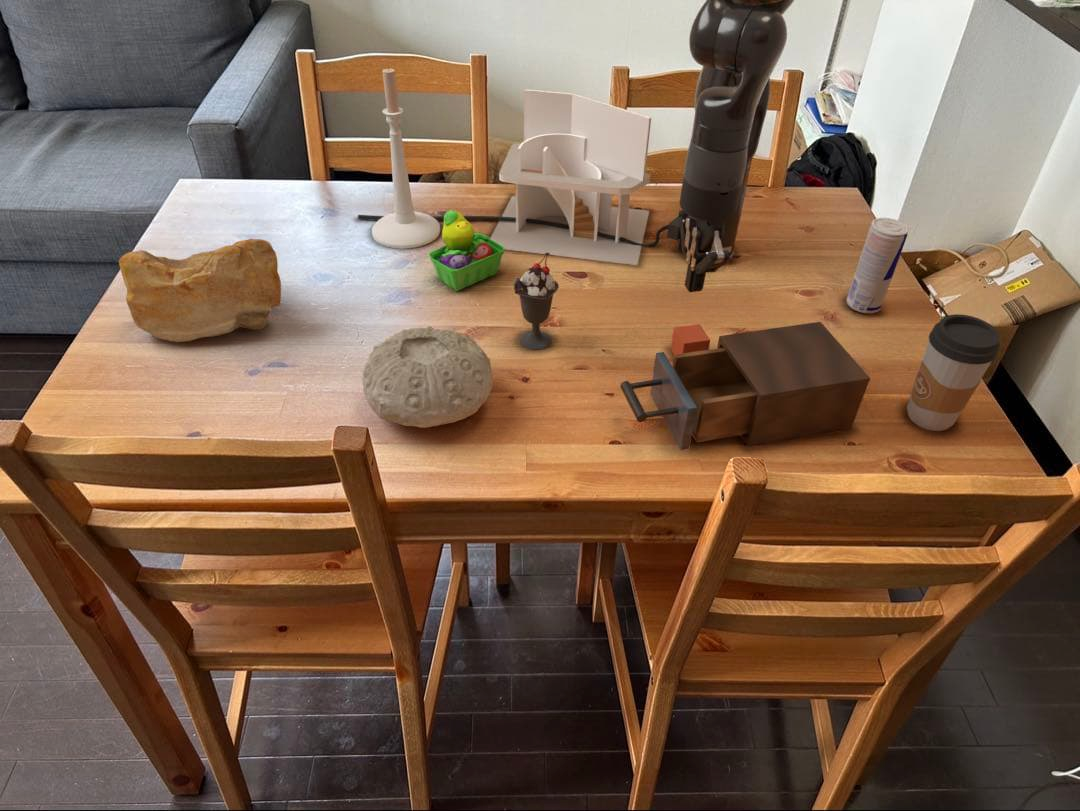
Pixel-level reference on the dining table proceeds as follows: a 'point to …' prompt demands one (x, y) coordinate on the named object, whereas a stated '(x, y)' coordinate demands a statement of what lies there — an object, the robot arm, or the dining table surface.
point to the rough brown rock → (202, 290)
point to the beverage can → (877, 264)
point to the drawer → (697, 396)
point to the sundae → (536, 303)
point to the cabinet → (797, 381)
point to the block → (689, 339)
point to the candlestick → (401, 187)
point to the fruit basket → (464, 253)
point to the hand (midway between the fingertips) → (693, 288)
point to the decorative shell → (427, 377)
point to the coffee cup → (951, 370)
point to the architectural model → (576, 179)
